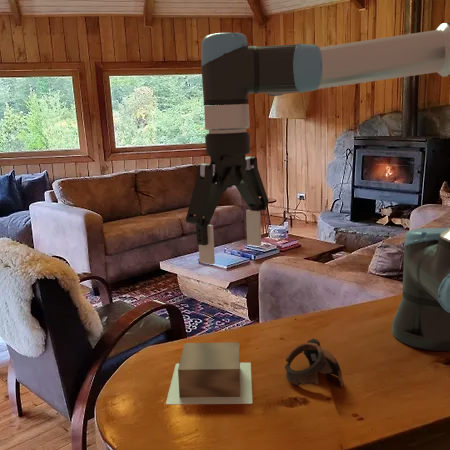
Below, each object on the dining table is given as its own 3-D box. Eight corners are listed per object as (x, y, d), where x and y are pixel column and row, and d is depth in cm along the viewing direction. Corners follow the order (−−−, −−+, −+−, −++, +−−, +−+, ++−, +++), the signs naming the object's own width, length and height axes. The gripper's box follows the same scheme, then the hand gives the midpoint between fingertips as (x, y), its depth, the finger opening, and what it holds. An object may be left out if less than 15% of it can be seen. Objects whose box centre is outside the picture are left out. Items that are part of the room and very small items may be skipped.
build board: (250, 369, 98) (250, 362, 98) (252, 411, 84) (252, 403, 84) (176, 370, 98) (176, 363, 98) (166, 412, 85) (165, 404, 84)
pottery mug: (351, 399, 88) (330, 365, 85) (300, 416, 91) (279, 385, 88) (341, 351, 99) (322, 320, 96) (296, 368, 102) (276, 338, 98)
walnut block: (239, 367, 96) (239, 342, 95) (239, 396, 86) (239, 368, 85) (185, 368, 96) (184, 343, 95) (179, 397, 86) (177, 369, 85)
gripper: (251, 128, 100) (255, 236, 104) (158, 136, 81) (167, 268, 85) (285, 127, 95) (287, 240, 100) (194, 135, 76) (202, 275, 81)
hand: (232, 253), depth 92 cm, fingers open, 13 cm apart
